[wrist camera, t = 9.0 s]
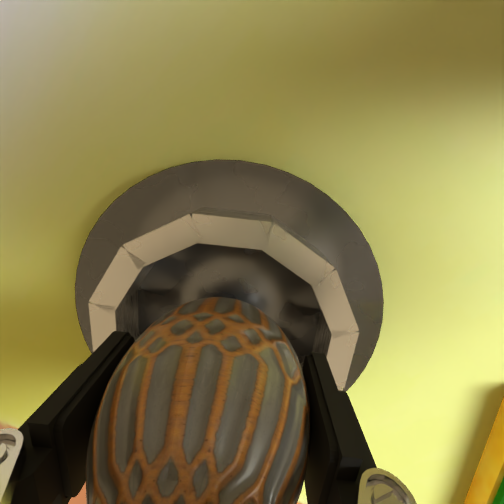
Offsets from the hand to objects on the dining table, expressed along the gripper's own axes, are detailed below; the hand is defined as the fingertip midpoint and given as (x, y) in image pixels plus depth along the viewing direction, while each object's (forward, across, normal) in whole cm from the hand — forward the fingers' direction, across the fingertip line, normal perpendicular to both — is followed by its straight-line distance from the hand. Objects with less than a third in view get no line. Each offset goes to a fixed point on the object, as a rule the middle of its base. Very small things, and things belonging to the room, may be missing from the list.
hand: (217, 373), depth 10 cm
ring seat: (+5, 0, 0) cm, 5 cm away
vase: (+3, 0, 0) cm, 3 cm away
